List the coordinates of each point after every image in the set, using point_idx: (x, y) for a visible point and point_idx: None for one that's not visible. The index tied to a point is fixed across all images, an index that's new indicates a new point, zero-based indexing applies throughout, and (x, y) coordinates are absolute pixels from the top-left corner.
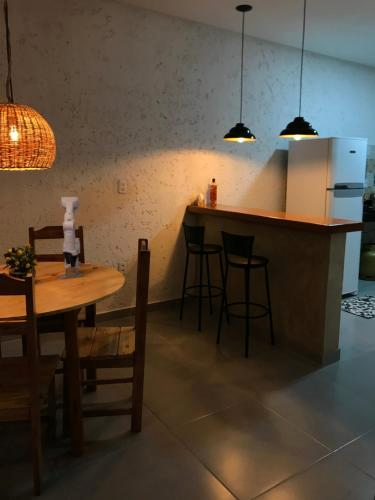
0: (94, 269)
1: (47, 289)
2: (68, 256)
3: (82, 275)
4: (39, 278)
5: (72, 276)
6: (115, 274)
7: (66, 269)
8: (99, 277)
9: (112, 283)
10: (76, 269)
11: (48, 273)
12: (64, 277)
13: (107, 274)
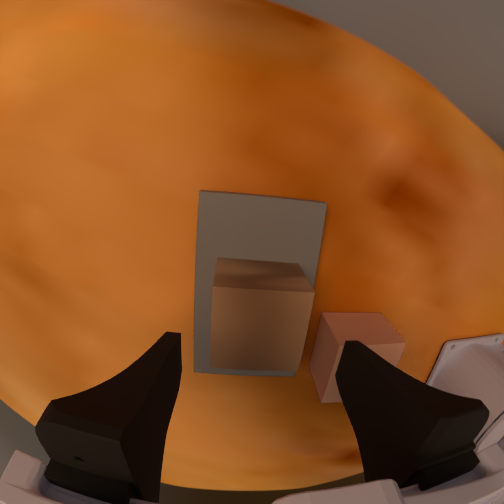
0: (333, 451)
1: (34, 24)
2: (92, 414)
3: (194, 364)
4: (370, 51)
5: (202, 291)
6: (164, 476)
7: (273, 286)
8: None
9: (10, 389)
10: (320, 380)
11: (462, 186)
12: (209, 214)
13: (182, 461)
